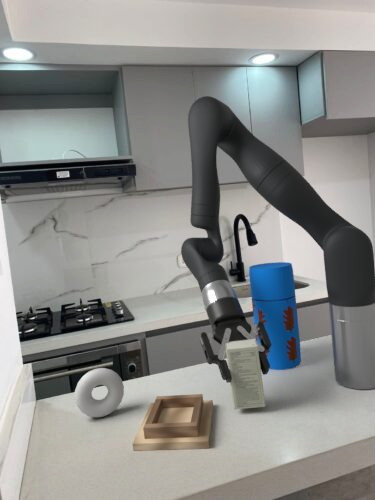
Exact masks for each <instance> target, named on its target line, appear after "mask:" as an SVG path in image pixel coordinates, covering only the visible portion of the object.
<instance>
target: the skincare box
mask: <svg viewBox="0 0 375 500" xmlns="http://www.w3.org/2000/svg"><path fill="white" fill-rule="evenodd" d="M225 355H226V361H227V364H228V368H229V370H230V373H231V377H232V380H231V382H229V383H230V388H231V389H230V390H231V397H232V404H233V409H234V410H242V409H254V408H265V407H266V400H265V391H264V381H263V373H262V371H261V367H260V359H259V352H258V345H257V341H256V338H255V339H249V340H240V341H230V342H228V343H226V353H225Z"/></svg>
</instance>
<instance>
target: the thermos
mask: <svg viewBox="0 0 375 500" xmlns="http://www.w3.org/2000/svg"><path fill="white" fill-rule="evenodd" d="M248 269H249V270H248V276H249V286H250V295H251V304H252V314H253V325H255V324H258V322H263V324H264V326H265V329H266V331H267V334H268V337H269V339H270V342H271V344H272V345H271V347H270V349H269V352H267V353H265V354H266V357H267V359H268V361H269V364H270V368H269V370H275V371H276V370H277V371H280V370H283V371H284V370H285V371H286V370H291V369H294V368H296V366H297V367H298V366H300V364H301V363H302V362H301V361H302V360H301V357H302V356H301V355H302V353H301V340H300V332H299V331H300V329H299V321H298V320H299V319H298V310H297V295H296V287H295V275H294V268H293V265H292V262H285V261H284V262H281V261H280V262H279V261H278V262H266V263H258V264H254V265H251V266H249V267H248ZM254 335H255V334H254ZM255 339H256V341H257V342H258V343H259V344H260V345H261V343H260V340H259V338H258V335H255ZM300 362H301V363H300ZM290 368H291V369H290Z"/></svg>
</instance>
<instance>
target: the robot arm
mask: <svg viewBox="0 0 375 500" xmlns="http://www.w3.org/2000/svg"><path fill="white" fill-rule="evenodd" d="M187 124H188V125H187V127H188V134H189V135H188V136H189V143H190V144H189V145H190V161H191V202H190V203H191V204H190V219H189V220H190V224H191V226H192V227H193V228H196V229H199V230H204V231H205V232H206V235H207V237H189V238H188V237H187V238H186V239H185V240H184V241H183V242H182V243H181V247H180V255H181V258H182V260H183V262H184V265H185V266H186V268H187V269H188V270H189V271H190V272H191V274H192V275H193V277H194V278H195V280H196V281H197V284H198V286H199V290H200V293H201V296H202V302H203V305H204V306H203V307H204V310H205V311H206V316H207V318H208V320H209V324H210V327H211V330H212V332H209V333H206V332H205V331H203V332H201V334H200V339H199V342H200V345H201V348H202V350H203V353H204V356H205V360H206V363H207V364H209V365H212V364H214V365H217V366H218V370H219V373H220V375H221V378H222V380H223V381H225V382H226V383H227V384H228V383H230V382H231V380H232V377H231V373H230V370H229V368H228V361H227V359H225V356H226V343H228V342H230V341H240V340H249V339H256V337H254V336H253V335H252V334H251V332H253V334H254V335H258V338H259V340H260V343H261V345H260V344H259V343H258V342H257V345H258V352H259V359H260V367H261V374H262V376H264V375H268V373H269V372H270V371H269V370H270V369H269V368H270V364H269V361H268V359H267V357H266V354H265V353H267V352H269V349H270V347H271V345H272V344H271V342H270V339H269V337H268V334H267V331H266V329H265V326H264V324H263V322H258V324H255V325H254V324H251V323H249V322H248V321H247V319H246V315H245V313H244V311H243V309H242V306H241V303H240V300H239V298H238V296H237V294H236V291H235V289H234V287H233V285H232V283H231V282H230V279H229V277H228V274H227V272H226V270H225V268H224V267H223V266H222V265H221V264H220V263H221V262H222V260H223V257H224V254H225V249H224V243H223V238H222V234H221V227H220V220H219V219H220V210H221V209H220V208H221V186H220V181H219V180H220V179H219V174H218V173H219V172H218V167H217V154H218V153H217V151H218V148H219V149H221V151H223V152H224V153H225V154H226V155H227V156H228V157H229V158H231V159H232V160H233V162H234V163H235V164H236V166H237V167H238V169H239V170H240V171H241V173H242V175H243V176H244V178H245V180H246V181H247V182H248V184H249V185H250V186H251V187H252V188H253V189H254V190H255V192H257V193H258V195H260V196H261V197H262V199H264V200H265V201H266V202H267V203H268V204H269V205H271V206H272V207H273V208H274V209H276V210H277V211H278V212H280V213H281V214H282V215H283V216H285V217H286V218H288V219H289V220H291V221H293V222H294V223H295V224H297V225H298V226H299V227H301V228H302V229H303V230H304V231H305V232H306V233H307V234H308V235H309V236H310V237H311V238H312V239H313V240H314V241H315V243H316V244H317V245H318V246H319V247H320V249H321V250H322V251H323V262H324V263H323V265H324V272H325V273H324V274H325V282H326V283H325V285H326V292H327V293H326V294H327V298H328V299H327V300H328V311H329V320H330V321H329V322H330V323H329V324H330V332H331V333H330V334H331V344H332V356H333V366H334V367H333V369H334V378H335V381H336V382H337V383H338V384H339V385H342V386H343V387H346V388H350V389H355V390H372V389H375V255H374V254H375V253H374V246H373V242H372V240H371V238H370V237H369V236H368V235H367V234H366V232H364V231H363V230H362V229H360V228H358V227H357V226H355V225H353V224H352V223H350V222H349V221H348V220H346V219H345V218H344V217H342V215H340V214H339V213H337V212H336V211H335V210H334V209H333V208H331V206H329V205H328V204H327V203H326V201H324V199H323V198H322V197H321V196H320V194H319V193H318V192H317V191H316V190H315V188H314V187H313V186H312V185H311V184H310V183H309V182H308V181H307V179H306V178H305V177H304V176H303V175H302V174H301V173H300V172H299V171H298V170H297V169H296V168H295V167H294V166H293V165H291V163H289V162H288V161H287V160H286V159H285V158H284V157H283V156H281V155H280V154H279V153H278V152H276V150H274V149H273V148H271V147H270V146H269V145H267V144H266V143H264V142H263V141H262V140H260V139H259V138H258V137H256V136H255V135H254V134H253V133H252V132H251V131H250V130H249V129H248V128H247V127H246V126H245V124H244V123H243V122H242V121H241V120H240V118H239V117H238V116H237V115H236V114H235V112H233V110H232V109H231V108H230V106H228V105H227V104H225V103H224V102H223V101H222V100H219V99H217V98H216V97H212V96H209V95H206V96H201V97H199V98H197V99H196V100H195V101H194V102H193V103H192V105H191V106H190V109H189V111H188V116H187ZM213 340H214V341H215V342H216V343H218V344H219V345H220V348H219V351H218V354H215V353H214V350H213V348H212V345H211V344H212V341H213Z"/></svg>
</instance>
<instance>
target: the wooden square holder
mask: <svg viewBox="0 0 375 500" xmlns="http://www.w3.org/2000/svg"><path fill="white" fill-rule="evenodd" d="M213 412H214V401H213V399H209V400H208V399H205V400H204V396H203V393H198V394H197V393H196V394H195V393H194V394H177V395H176V394H175V395H156V397H155V400H154V402H151V403H150V405H149V407H148V408H147V411H146V413H145V416H144V418H143V420H142V422H141V424H140V426H139V428H138V431H137V433H136V436H135V437H134V440H133V442H132V451H159V450H161V451H164V450H165V451H166V450H191V449H192V450H194V449H197V450H198V449H210V443H211V442H210V440H211V433H212V431H211V430H212V422H213V421H212V420H213Z"/></svg>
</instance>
